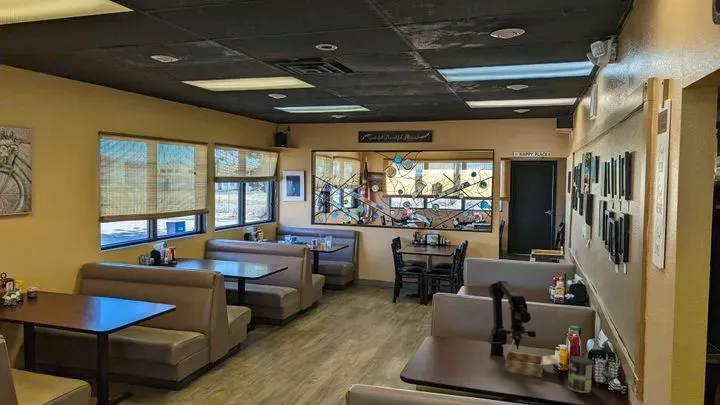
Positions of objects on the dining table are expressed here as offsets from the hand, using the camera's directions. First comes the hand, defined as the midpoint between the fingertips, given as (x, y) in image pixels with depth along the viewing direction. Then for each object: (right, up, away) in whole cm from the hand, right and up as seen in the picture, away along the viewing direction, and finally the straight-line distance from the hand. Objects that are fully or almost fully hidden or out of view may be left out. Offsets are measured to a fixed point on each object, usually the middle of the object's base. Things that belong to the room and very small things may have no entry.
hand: (517, 349), depth 278 cm
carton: (+3, -10, -1) cm, 11 cm away
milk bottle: (+34, -11, +13) cm, 38 cm away
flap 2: (+16, -4, -6) cm, 17 cm away
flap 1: (-3, 0, +1) cm, 3 cm away
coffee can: (+22, -12, -25) cm, 35 cm away
